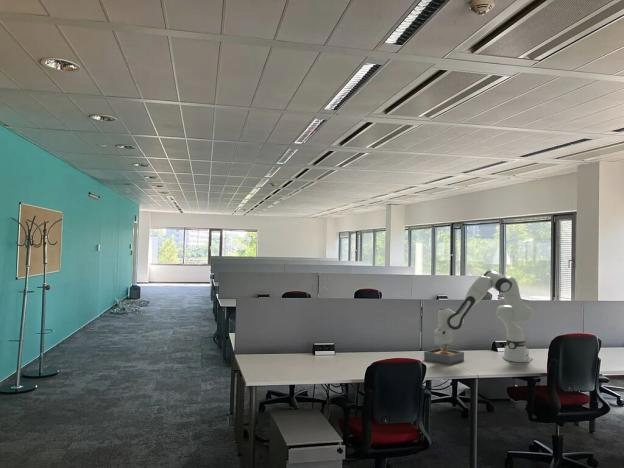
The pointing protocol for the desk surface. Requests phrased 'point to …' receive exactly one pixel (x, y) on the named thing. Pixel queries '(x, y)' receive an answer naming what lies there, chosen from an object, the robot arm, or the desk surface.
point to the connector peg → (444, 349)
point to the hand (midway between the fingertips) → (444, 350)
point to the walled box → (444, 356)
